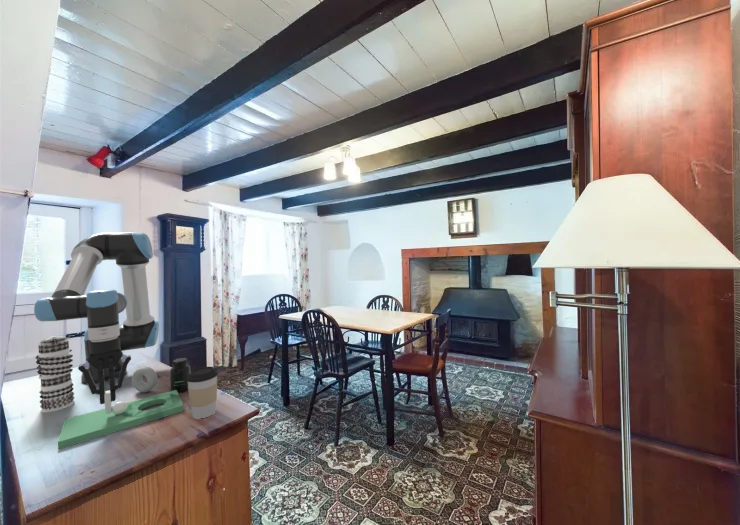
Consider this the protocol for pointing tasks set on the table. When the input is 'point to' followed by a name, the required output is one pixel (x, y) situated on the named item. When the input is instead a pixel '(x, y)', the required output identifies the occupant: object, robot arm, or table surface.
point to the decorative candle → (55, 373)
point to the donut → (138, 381)
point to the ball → (119, 407)
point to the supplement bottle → (179, 375)
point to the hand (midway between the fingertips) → (108, 412)
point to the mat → (118, 418)
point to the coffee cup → (202, 391)
